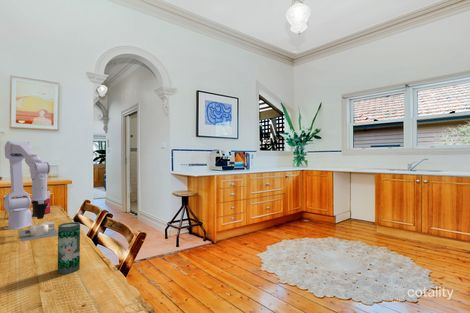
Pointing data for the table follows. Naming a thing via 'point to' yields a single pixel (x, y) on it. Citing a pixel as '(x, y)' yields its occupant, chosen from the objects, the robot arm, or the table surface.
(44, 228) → the plug
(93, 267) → the table surface
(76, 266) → the can
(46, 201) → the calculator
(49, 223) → the block
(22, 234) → the mat
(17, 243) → the table surface
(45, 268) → the table surface
